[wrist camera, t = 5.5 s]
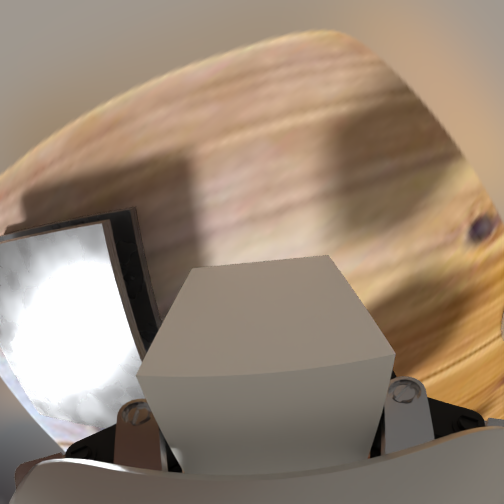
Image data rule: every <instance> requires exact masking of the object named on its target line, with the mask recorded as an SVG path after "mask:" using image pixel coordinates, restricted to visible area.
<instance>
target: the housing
mask: <svg viewBox="0 0 504 504" xmlns="http://www.w3.org/2000/svg"><path fill="white" fill-rule="evenodd" d="M395 355H396V353H395V352H394V350H393V349H392V347H391V345H390V344H389V342H388V341H387V339H386V338H385V336H384V335H383V333H382V332H381V330H380V329H379V327H378V326H377V324H376V323H375V321H374V320H373V318H372V317H371V315H370V314H369V312H368V311H367V309H366V308H365V306H364V305H363V303H362V302H361V300H360V299H359V297H358V296H357V295H356V293H355V292H354V290H353V289H352V287H351V286H350V285H349V283H348V282H347V280H346V279H345V277H344V276H343V275H342V273H341V272H340V270H339V269H338V268H337V266H336V265H335V263H334V262H333V261H332V259H331V258H330V257H329V255H323V256H313V257H303V258H293V259H283V260H273V261H263V262H252V263H242V264H231V265H221V266H210V267H199V268H192V270H191V271H190V273H189V275H188V277H187V279H186V280H185V282H184V284H183V286H182V288H181V289H180V291H179V293H178V295H177V297H176V299H175V301H174V302H173V304H172V306H171V308H170V310H169V312H168V314H167V315H166V317H165V319H164V321H163V323H162V325H161V327H160V329H159V331H158V333H157V334H156V336H155V338H154V340H153V342H152V344H151V346H150V348H149V350H148V352H147V354H146V356H145V358H144V360H143V362H142V364H141V366H140V368H139V370H138V372H137V374H136V377H137V380H138V382H139V385H140V387H141V389H142V391H143V394H144V396H145V398H146V400H147V403H148V405H149V407H150V409H151V411H152V413H153V415H154V417H155V419H156V421H157V423H158V425H159V427H160V429H161V431H162V433H163V435H164V437H165V439H166V441H167V443H168V445H169V446H170V448H171V450H172V452H173V454H174V456H175V457H176V459H177V461H178V463H179V464H180V466H181V468H182V469H183V471H184V473H188V474H207V475H254V474H272V473H285V472H295V471H304V470H311V469H318V468H325V467H331V466H337V465H342V464H347V463H352V462H357V461H361V460H366V459H367V458H368V455H369V452H370V449H371V446H372V443H373V440H374V437H375V434H376V431H377V428H378V424H379V421H380V417H381V414H382V410H383V407H384V403H385V399H386V395H387V391H388V387H389V383H390V379H391V374H392V369H393V365H394V360H395Z"/></svg>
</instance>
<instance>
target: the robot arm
mask: <svg viewBox="0 0 504 504" xmlns="http://www.w3.org/2000/svg"><path fill="white" fill-rule="evenodd" d="M501 332H502V338H503V341H504V313H503V318H502V326H501ZM14 478H15V485H16V491H15V493H14V495H13V497H12V498H11V500H10V503H9V504H504V420H502V419H494V418H488V420H487V421H484V419H483V418H482V416H481V415H480V414H479V413H477V412H475V411H473V410H470V409H466V408H463V407H459V406H455V405H452V404H449V403H445V402H442V401H438V400H435V399H432V398H428V397H427V394H426V389H425V387H424V385H423V384H422V383H421V382H420V381H419V380H417V379H415V378H412V377H405V376H402V377H396V375H395V373H394V371H393V370H392V374H391V379H390V383H389V387H388V391H387V395H386V399H385V403H384V407H383V410H382V414H381V417H380V421H379V424H378V428H377V431H376V434H375V437H374V440H373V443H372V446H371V449H370V452H369V455H368V459H366V460H361V461H357V462H352V463H347V464H342V465H337V466H331V467H325V468H318V469H311V470H304V471H295V472H285V473H272V474H254V475H207V474H188V473H184V471H183V469H182V468H181V466H180V464H179V463H178V461H177V459H176V457H175V456H174V454H173V452H172V450H171V448H170V446H169V445H168V443H167V441H166V439H165V437H164V435H163V433H162V431H161V429H160V427H159V425H158V423H157V421H156V419H155V417H154V415H153V413H152V411H151V409H150V407H149V405H148V403H147V400H146V398H145V399H135V400H131V401H129V402H127V403H125V404H124V405H123V406H122V407H121V408H120V409H119V411H118V414H117V423H116V424H114V425H112V426H110V427H108V428H106V429H104V430H102V431H99V432H97V433H95V434H93V435H91V436H89V437H86V438H84V439H82V440H80V441H77V442H75V443H74V444H72V445H71V446H70V447H69V448H68V449H67V451H66V454H65V455H63V454H62V453H61V452H60V453H57V454H54V455H50V456H47V457H43V458H39V459H36V460H32V461H28V462H24V463H23V464H20V465H19V466H18V467H17V468H16V471H15V477H14Z"/></svg>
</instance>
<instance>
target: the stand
mask: <svg viewBox="0 0 504 504" xmlns="http://www.w3.org/2000/svg"><path fill="white" fill-rule="evenodd" d="M161 325H162V323H161V319H160V316H159V312H158V308H157V305H156V301H155V297H154V293H153V289H152V285H151V281H150V276H149V272H148V268H147V263H146V259H145V254H144V249H143V244H142V240H141V234H140V229H139V224H138V219H137V213H136V207H131V208H125V209H119V210H114V211H108V212H103V213H98V214H93V215H87V216H82V217H77V218H73V219H68V220H63V221H59V222H54V223H49V224H45V225H41V226H36V227H32V228H28V229H24V230H20V231H16V232H12V233H8V234H4V235H1V236H0V347H1V349H2V351H3V353H4V355H5V357H6V359H7V361H8V363H9V365H10V367H11V368H12V370H13V372H14V374H15V376H16V377H17V379H18V381H19V383H20V384H21V386H22V388H23V389H24V391H25V392H26V394H27V396H28V397H29V399H30V400H31V402H32V403H33V405H34V407H35V408H36V409H37V411H38V412H39V414H40V415H44V416H48V417H52V418H56V419H60V420H64V421H69V422H74V423H79V424H84V425H89V426H95V427H101V428H108V427H110V426H112V425H114V424H116V423H117V414H118V411H119V409H120V408H121V407H122V406H123V405H124V404H125V403H127V402H129V401H131V400H135V399H145V396H144V394H143V391H142V389H141V387H140V385H139V382H138V380H137V377H136V374H137V372H138V370H139V368H140V366H141V364H142V362H143V360H144V358H145V356H146V354H147V352H148V350H149V348H150V346H151V344H152V342H153V340H154V338H155V336H156V334H157V333H158V331H159V329H160V327H161Z"/></svg>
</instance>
